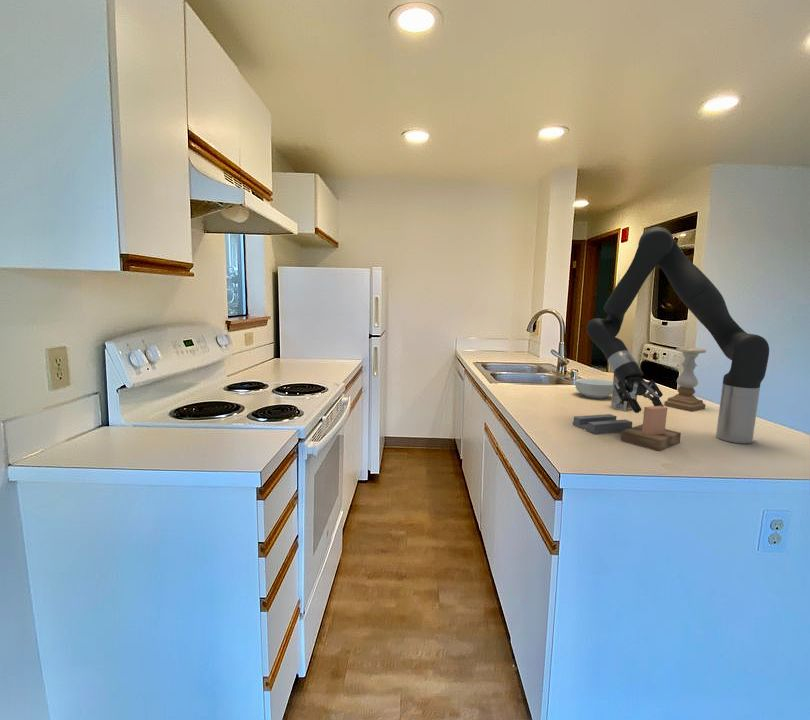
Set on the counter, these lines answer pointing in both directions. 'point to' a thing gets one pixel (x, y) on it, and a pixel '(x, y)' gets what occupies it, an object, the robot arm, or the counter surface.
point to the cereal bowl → (594, 387)
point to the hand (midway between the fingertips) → (650, 411)
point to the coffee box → (616, 400)
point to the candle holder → (687, 383)
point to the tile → (654, 420)
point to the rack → (601, 423)
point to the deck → (650, 438)
